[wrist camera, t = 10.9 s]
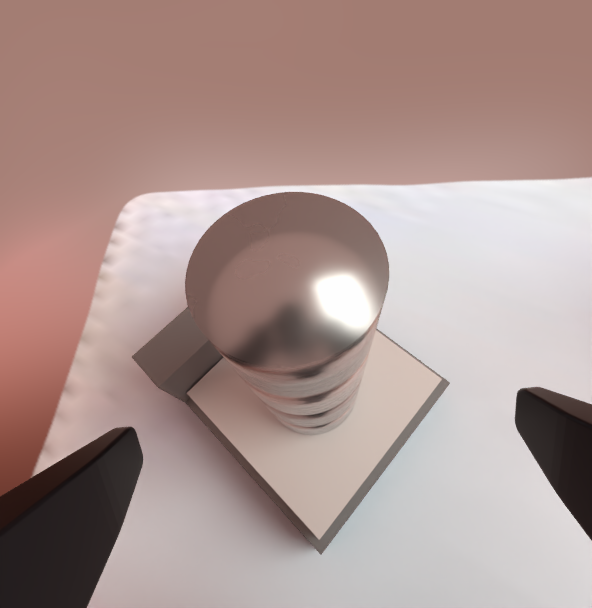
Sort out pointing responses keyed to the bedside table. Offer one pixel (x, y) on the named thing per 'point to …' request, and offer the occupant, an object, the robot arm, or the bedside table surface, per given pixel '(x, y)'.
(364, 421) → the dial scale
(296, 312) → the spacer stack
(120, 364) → the bedside table surface
